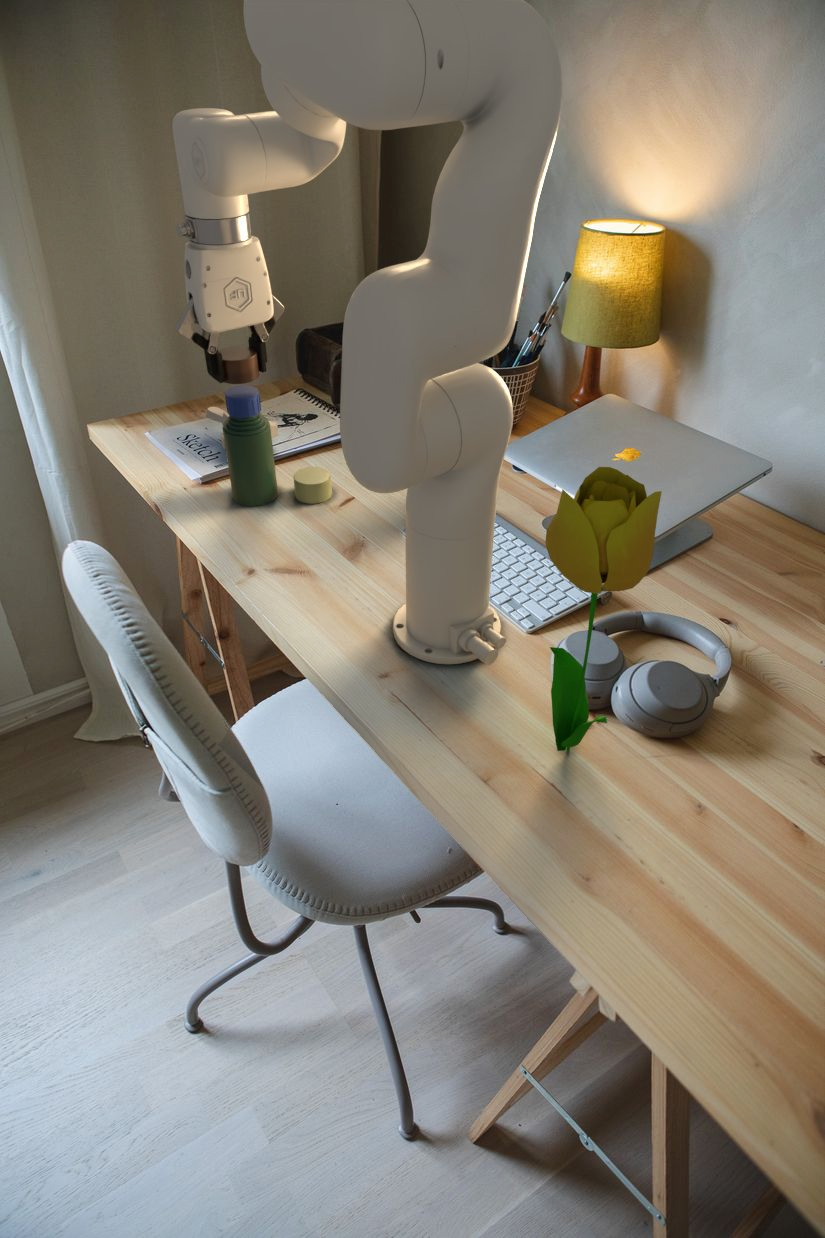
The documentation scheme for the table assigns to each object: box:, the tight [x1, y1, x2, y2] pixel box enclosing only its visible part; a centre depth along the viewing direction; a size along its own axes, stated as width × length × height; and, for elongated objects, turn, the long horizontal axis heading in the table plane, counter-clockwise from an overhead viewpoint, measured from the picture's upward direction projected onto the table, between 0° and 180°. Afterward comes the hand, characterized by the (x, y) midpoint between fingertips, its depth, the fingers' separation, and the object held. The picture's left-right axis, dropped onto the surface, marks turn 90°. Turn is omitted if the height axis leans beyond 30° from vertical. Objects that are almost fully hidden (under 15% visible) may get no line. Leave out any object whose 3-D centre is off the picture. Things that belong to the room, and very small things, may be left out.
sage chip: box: [293, 466, 333, 505], centre depth 121 cm, size 5×5×3 cm
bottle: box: [221, 412, 279, 507], centre depth 117 cm, size 7×7×15 cm
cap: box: [224, 385, 262, 418], centre depth 113 cm, size 5×5×3 cm
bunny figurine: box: [205, 406, 279, 450], centre depth 135 cm, size 10×5×15 cm
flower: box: [544, 466, 662, 753], centre depth 73 cm, size 9×8×30 cm
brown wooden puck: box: [218, 345, 260, 385], centre depth 110 cm, size 5×5×3 cm
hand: (238, 373), depth 111 cm, fingers closed on brown wooden puck, 5 cm apart
